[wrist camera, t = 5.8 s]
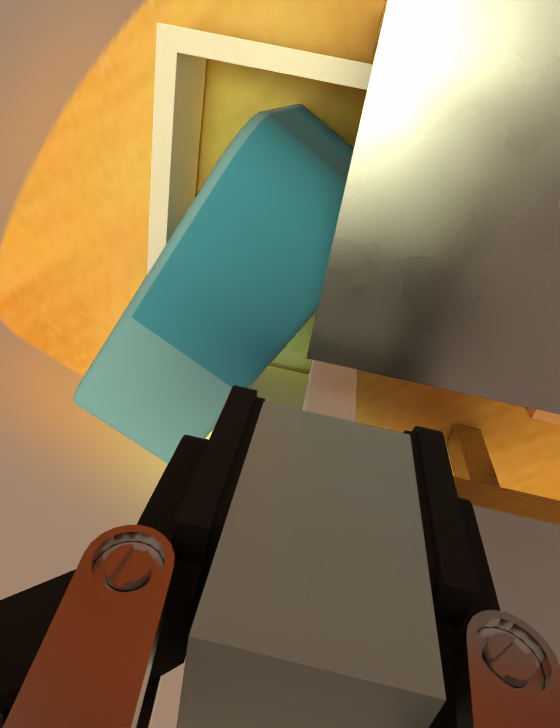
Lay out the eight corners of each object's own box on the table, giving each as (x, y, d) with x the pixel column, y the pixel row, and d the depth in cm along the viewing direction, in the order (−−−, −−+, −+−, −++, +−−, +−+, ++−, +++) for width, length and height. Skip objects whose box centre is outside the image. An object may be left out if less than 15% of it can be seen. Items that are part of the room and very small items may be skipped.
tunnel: (651, 61, 20) (1185, 8, 7) (471, 449, 30) (553, 722, 17) (382, 10, 21) (417, -129, 8) (293, 408, 31) (241, 644, 18)
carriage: (424, 78, 21) (904, -12, 2) (337, 393, 29) (292, 939, 10) (190, 33, 21) (-954, -348, 3) (168, 355, 29) (-169, 813, 11)
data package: (237, 342, 29) (165, 485, 18) (171, 295, 28) (57, 417, 17) (378, 165, 23) (391, 227, 13) (302, 100, 22) (249, 108, 12)
